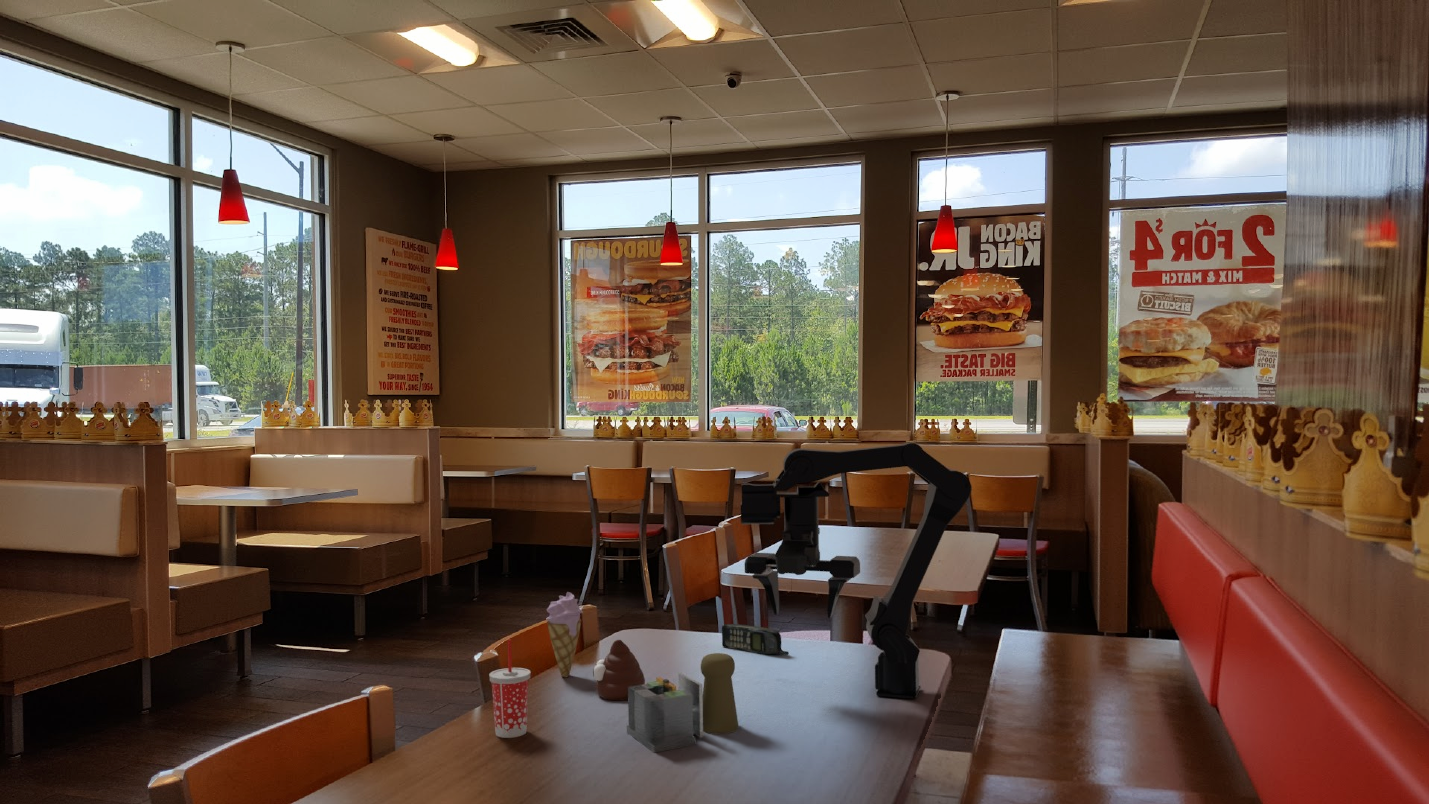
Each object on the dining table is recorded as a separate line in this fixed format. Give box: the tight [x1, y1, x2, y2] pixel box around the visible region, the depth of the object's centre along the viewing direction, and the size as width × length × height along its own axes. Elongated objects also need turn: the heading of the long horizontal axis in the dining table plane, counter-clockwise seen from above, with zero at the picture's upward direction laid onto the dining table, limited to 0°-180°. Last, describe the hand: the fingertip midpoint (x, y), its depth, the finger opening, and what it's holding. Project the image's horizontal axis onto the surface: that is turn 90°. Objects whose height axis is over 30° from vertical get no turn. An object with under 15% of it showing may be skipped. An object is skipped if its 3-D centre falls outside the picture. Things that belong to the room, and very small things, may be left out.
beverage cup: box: [488, 638, 531, 739], centre depth 149 cm, size 6×6×14 cm
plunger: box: [655, 672, 704, 738], centre depth 147 cm, size 4×7×8 cm, turn 28°
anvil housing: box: [626, 680, 697, 753], centre depth 145 cm, size 6×10×7 cm, turn 28°
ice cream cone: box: [545, 591, 584, 678], centre depth 180 cm, size 7×6×15 cm
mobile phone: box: [721, 623, 789, 656], centre depth 196 cm, size 5×3×15 cm
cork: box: [700, 652, 739, 735], centre depth 150 cm, size 6×6×11 cm
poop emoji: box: [592, 639, 646, 701], centre depth 169 cm, size 10×8×9 cm
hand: (802, 616), depth 166 cm, fingers open, 9 cm apart
